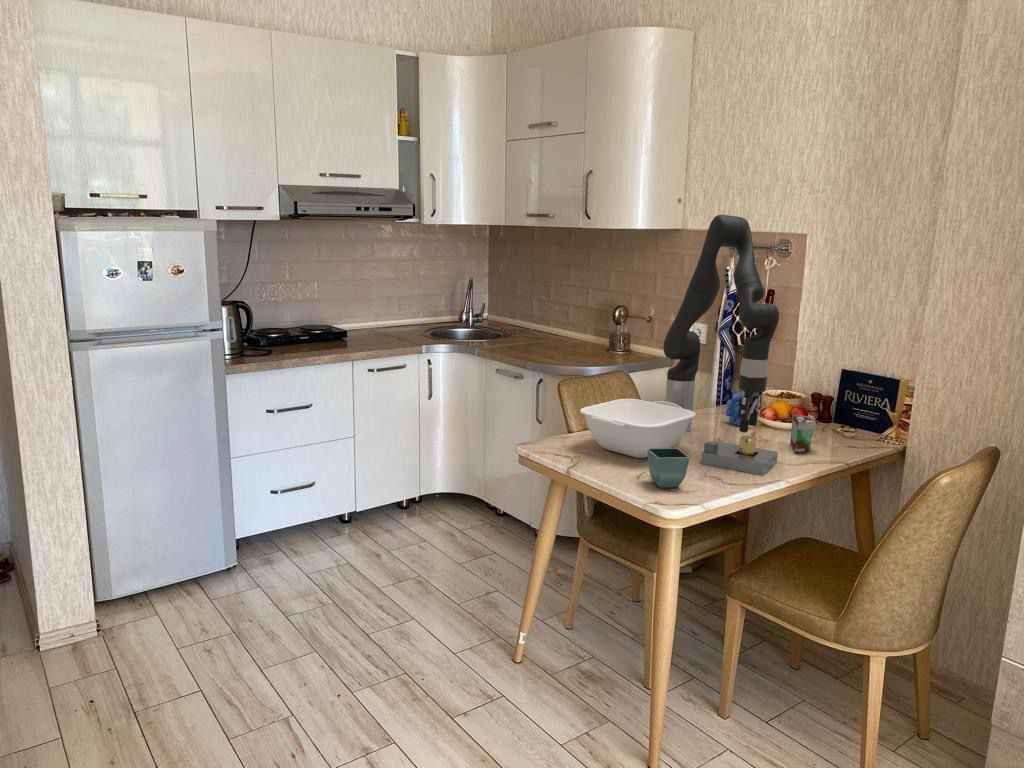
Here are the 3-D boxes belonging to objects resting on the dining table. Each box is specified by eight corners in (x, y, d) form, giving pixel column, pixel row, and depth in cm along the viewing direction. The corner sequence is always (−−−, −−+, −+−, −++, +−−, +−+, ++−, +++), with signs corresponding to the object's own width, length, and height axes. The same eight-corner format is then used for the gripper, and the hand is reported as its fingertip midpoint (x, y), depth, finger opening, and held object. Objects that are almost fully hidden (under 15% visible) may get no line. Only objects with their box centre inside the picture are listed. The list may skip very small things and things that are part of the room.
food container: (816, 456, 236) (820, 424, 234) (795, 455, 237) (798, 423, 235) (809, 445, 247) (813, 415, 245) (789, 444, 249) (792, 413, 247)
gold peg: (736, 465, 225) (738, 438, 224) (740, 461, 229) (742, 435, 227) (751, 468, 223) (753, 441, 221) (755, 464, 227) (758, 437, 225)
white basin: (631, 431, 260) (633, 394, 257) (706, 449, 240) (709, 409, 238) (563, 450, 236) (565, 410, 233) (640, 473, 216) (643, 429, 214)
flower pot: (675, 479, 212) (678, 447, 210) (688, 490, 203) (690, 457, 201) (644, 480, 210) (646, 448, 209) (655, 491, 202) (657, 458, 200)
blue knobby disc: (760, 427, 268) (763, 393, 265) (749, 430, 264) (752, 396, 261) (732, 420, 277) (734, 387, 274) (720, 423, 272) (723, 389, 270)
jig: (700, 463, 226) (702, 443, 225) (716, 452, 238) (718, 433, 236) (763, 475, 216) (765, 454, 215) (776, 463, 228) (778, 443, 227)
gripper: (747, 368, 228) (742, 421, 232) (732, 375, 216) (727, 431, 220) (773, 371, 224) (768, 425, 228) (759, 379, 213) (753, 436, 216)
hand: (748, 428), depth 224 cm, fingers open, 8 cm apart
